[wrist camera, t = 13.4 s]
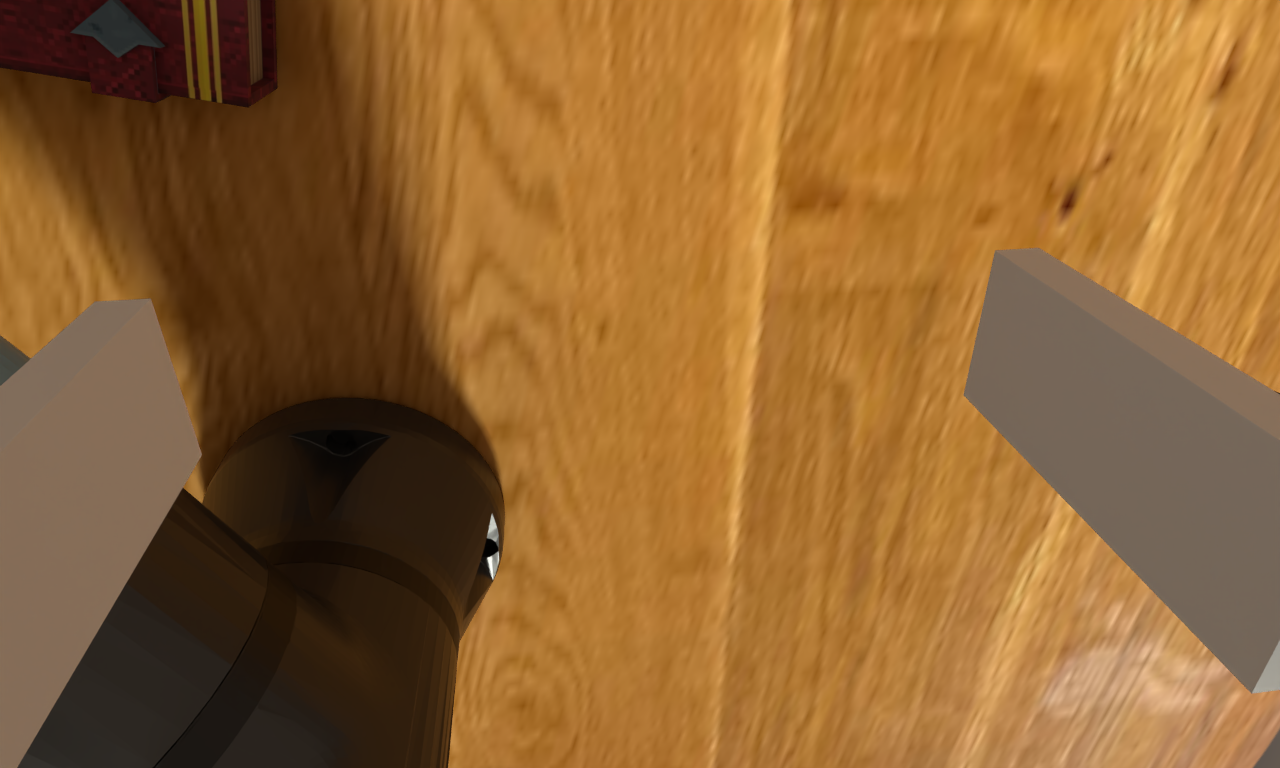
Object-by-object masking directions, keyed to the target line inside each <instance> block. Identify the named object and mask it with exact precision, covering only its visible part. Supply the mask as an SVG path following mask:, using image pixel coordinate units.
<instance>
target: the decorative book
mask: <svg viewBox="0 0 1280 768" xmlns="http://www.w3.org/2000/svg"><path fill="white" fill-rule="evenodd" d="M0 68H7V69H13V70H19V71H25V72H32V73H38V74H44V75H50V76H56V77H63V78H69V79H75V80H81V81H87V82H91V89H92V93H97V94H103V95H109V96H115V97H122V98H128V99H134V100H141V101H147V102H153V103H157V102H159V101H161V100H163V99H165V98H167V97H169V96H171V95H175V96H181V97H187V98H193V99H199V100H206V101H212V102H218V103H224V104H230V105H237V106H243V107H250V106H251V105H253V104H254V103H256V102H257V101H259V100H260V99H262V98H263V97H265V96H266V95H268V94H269V93H271V92H272V91H274V90H275V89H277V54H276V16H275V0H0Z"/></svg>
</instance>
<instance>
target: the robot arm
mask: <svg viewBox="0 0 1280 768" xmlns="http://www.w3.org/2000/svg"><path fill="white" fill-rule="evenodd" d="M964 396H965V397H966V398H967V399H968V400H969V401H970V402H971V403H972V404H973V405H974V406H975V407H976V408H977V410H978V411H979V412H980V413H981V414H982V415H983V416H984V417H985V418H986V419H987V420H988V421H989V422H990V423H991V424H992V425H993V426H994V427H995V428H996V429H997V430H998V431H999V432H1000V433H1001V434H1002V435H1003V436H1004V437H1005V439H1006V440H1007V441H1008V442H1009V443H1010V444H1011V445H1012V446H1013V447H1014V448H1015V449H1016V450H1017V451H1018V452H1019V453H1020V454H1021V455H1022V456H1023V457H1024V458H1025V459H1026V460H1027V461H1028V462H1029V463H1030V464H1031V465H1032V466H1033V468H1034V469H1035V470H1036V471H1037V472H1038V473H1039V474H1040V475H1041V476H1042V477H1043V478H1044V479H1045V480H1046V481H1047V482H1048V483H1049V484H1050V485H1051V486H1052V487H1053V488H1054V489H1055V490H1056V491H1057V492H1058V493H1059V494H1060V496H1061V497H1062V498H1063V499H1064V500H1065V501H1066V502H1067V503H1068V504H1069V505H1070V506H1071V507H1072V508H1073V509H1074V510H1075V511H1076V512H1077V513H1078V514H1079V515H1080V516H1081V517H1082V518H1083V519H1084V520H1085V521H1086V522H1087V523H1088V525H1089V526H1090V527H1091V528H1092V529H1093V530H1094V531H1095V532H1096V533H1097V534H1098V535H1099V536H1100V537H1101V538H1102V539H1103V540H1104V541H1105V542H1106V543H1107V544H1108V545H1109V546H1110V547H1111V548H1112V549H1113V550H1114V551H1115V552H1116V554H1117V555H1118V556H1119V557H1120V558H1121V559H1122V560H1123V561H1124V562H1125V563H1126V564H1127V565H1128V566H1129V567H1130V568H1131V569H1132V570H1133V571H1134V572H1135V573H1136V574H1137V575H1138V576H1139V577H1140V578H1141V579H1142V580H1143V582H1144V583H1145V584H1146V585H1147V586H1148V587H1149V588H1150V589H1151V590H1152V591H1153V592H1154V593H1155V594H1156V595H1157V596H1158V597H1159V598H1160V599H1161V600H1162V601H1163V602H1164V603H1165V604H1166V605H1167V606H1168V607H1169V608H1170V609H1171V611H1172V612H1173V613H1174V614H1175V615H1176V616H1177V617H1178V618H1179V619H1180V620H1181V621H1182V622H1183V623H1184V624H1185V625H1186V626H1187V627H1188V628H1189V629H1190V630H1191V631H1192V632H1193V633H1194V634H1195V635H1196V636H1197V637H1198V638H1199V640H1200V641H1201V642H1202V643H1203V644H1204V645H1205V646H1206V647H1207V648H1208V649H1209V650H1210V651H1211V652H1212V653H1213V654H1214V655H1215V656H1216V657H1217V658H1218V659H1219V660H1220V661H1221V662H1222V663H1223V664H1224V665H1225V666H1226V668H1227V669H1228V670H1229V671H1230V672H1231V673H1232V674H1233V675H1234V676H1235V677H1236V678H1237V679H1238V680H1239V681H1240V682H1241V683H1242V684H1243V685H1244V686H1245V687H1246V688H1247V689H1248V690H1249V691H1250V692H1251V693H1259V692H1267V691H1275V690H1280V393H1278V392H1276V391H1273V390H1271V389H1270V388H1268V387H1267V386H1265V385H1263V384H1262V383H1260V382H1258V381H1257V380H1255V379H1253V378H1252V377H1250V376H1248V375H1247V374H1245V373H1244V372H1242V371H1240V370H1239V369H1237V368H1235V367H1234V366H1232V365H1230V364H1229V363H1227V362H1225V361H1224V360H1222V359H1221V358H1219V357H1217V356H1216V355H1214V354H1212V353H1211V352H1209V351H1207V350H1206V349H1204V348H1202V347H1201V346H1199V345H1197V344H1196V343H1194V342H1193V341H1191V340H1189V339H1188V338H1186V337H1184V336H1183V335H1181V334H1179V333H1178V332H1176V331H1174V330H1173V329H1171V328H1170V327H1168V326H1166V325H1165V324H1163V323H1161V322H1160V321H1158V320H1156V319H1155V318H1153V317H1151V316H1150V315H1148V314H1146V313H1145V312H1143V311H1142V310H1140V309H1138V308H1137V307H1135V306H1133V305H1132V304H1130V303H1128V302H1127V301H1125V300H1123V299H1122V298H1120V297H1119V296H1117V295H1115V294H1114V293H1112V292H1110V291H1109V290H1107V289H1105V288H1104V287H1102V286H1100V285H1099V284H1097V283H1096V282H1094V281H1092V280H1091V279H1089V278H1087V277H1086V276H1084V275H1082V274H1081V273H1079V272H1077V271H1076V270H1074V269H1072V268H1071V267H1069V266H1068V265H1066V264H1064V263H1063V262H1061V261H1059V260H1058V259H1056V258H1054V257H1053V256H1051V255H1049V254H1048V253H1046V252H1045V251H1043V250H1041V249H1040V248H1030V249H1012V250H995V254H994V259H993V263H992V268H991V272H990V277H989V282H988V286H987V291H986V295H985V300H984V304H983V309H982V314H981V318H980V323H979V327H978V332H977V337H976V341H975V346H974V350H973V355H972V359H971V364H970V369H969V373H968V378H967V382H966V387H965V391H964ZM201 456H202V453H201V450H200V447H199V444H198V441H197V438H196V435H195V432H194V429H193V426H192V423H191V420H190V416H189V413H188V410H187V407H186V404H185V401H184V398H183V395H182V392H181V389H180V386H179V383H178V380H177V377H176V374H175V371H174V368H173V365H172V362H171V359H170V356H169V353H168V350H167V346H166V343H165V340H164V337H163V334H162V331H161V328H160V325H159V322H158V319H157V316H156V313H155V310H154V307H153V304H152V301H151V299H135V300H118V301H100V302H94V303H93V304H92V305H91V306H90V307H88V308H87V309H86V310H85V311H84V312H83V313H82V314H81V315H79V316H78V317H77V318H76V319H75V320H74V321H73V322H72V323H71V324H69V325H68V326H67V327H66V328H65V329H64V330H63V331H62V332H60V333H59V334H58V335H57V336H56V337H55V338H54V339H53V340H51V341H50V342H49V343H48V344H47V345H46V346H45V347H44V348H42V349H41V350H40V351H39V352H38V353H37V354H36V355H35V356H34V357H32V358H31V359H30V358H29V357H28V356H26V355H25V354H24V353H23V352H21V351H20V350H19V349H17V348H16V347H15V346H14V345H12V344H11V343H10V342H8V341H7V340H6V339H4V338H3V337H2V336H1V335H0V768H448V761H449V750H450V738H451V727H452V716H453V705H454V694H455V683H456V672H457V659H458V650H459V642H460V640H461V638H462V636H463V635H464V633H465V631H466V629H467V627H468V626H469V624H470V622H471V620H472V618H473V617H474V615H475V613H476V611H477V609H478V608H479V606H480V604H481V602H482V600H483V599H484V597H485V595H486V593H487V591H488V590H489V588H490V586H491V584H492V582H493V580H494V578H495V576H496V573H497V571H498V568H499V564H500V561H501V557H502V551H503V542H504V525H505V511H504V503H503V498H502V494H501V490H500V487H499V485H498V482H497V480H496V478H495V476H494V474H493V472H492V470H491V469H490V467H489V466H488V464H487V463H486V461H485V460H484V459H483V457H482V456H481V455H480V454H479V453H478V451H477V450H476V449H475V448H474V447H473V446H472V445H471V444H470V443H469V442H468V441H466V440H465V439H464V438H463V437H462V436H461V435H459V434H458V433H457V432H455V431H454V430H452V429H451V428H449V427H448V426H446V425H445V424H443V423H441V422H439V421H438V420H436V419H434V418H432V417H430V416H428V415H426V414H423V413H421V412H418V411H416V410H413V409H410V408H407V407H404V406H401V405H397V404H393V403H389V402H384V401H379V400H371V399H361V398H332V399H323V400H317V401H311V402H306V403H302V404H298V405H295V406H292V407H289V408H286V409H284V410H281V411H279V412H276V413H274V414H272V415H270V416H268V417H266V418H265V419H263V420H261V421H260V422H258V423H257V424H255V425H254V426H253V427H251V428H250V429H249V430H247V431H246V432H245V433H244V434H243V435H242V436H241V437H240V438H239V439H238V440H237V441H236V442H235V443H234V444H233V446H232V447H231V448H230V449H229V451H228V452H227V454H226V455H225V457H224V459H223V460H222V462H221V464H220V466H219V467H218V469H217V471H216V473H215V474H214V476H213V478H212V480H211V482H210V484H209V486H208V488H207V491H206V493H205V496H204V499H203V503H202V504H201V503H200V502H199V501H198V500H197V499H196V498H194V497H193V496H192V495H191V494H190V493H188V492H187V491H186V490H185V489H184V488H183V486H184V485H185V483H186V481H187V480H188V478H189V476H190V474H191V473H192V471H193V469H194V468H195V466H196V464H197V463H198V461H199V459H200V458H201Z"/></svg>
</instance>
